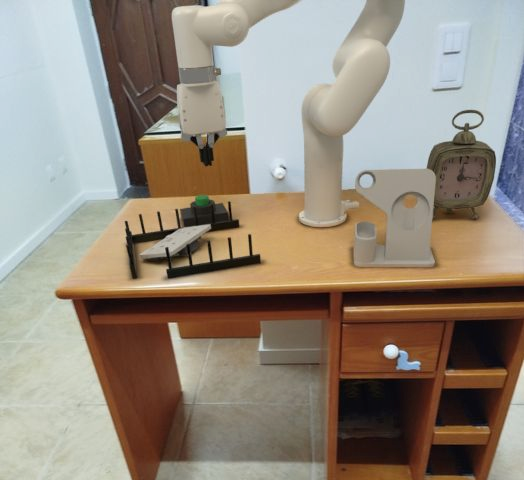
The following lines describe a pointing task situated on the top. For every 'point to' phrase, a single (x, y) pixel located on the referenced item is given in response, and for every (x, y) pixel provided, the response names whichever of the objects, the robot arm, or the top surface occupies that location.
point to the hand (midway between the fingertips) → (207, 164)
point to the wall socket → (176, 243)
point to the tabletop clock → (462, 170)
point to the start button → (202, 200)
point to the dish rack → (190, 268)
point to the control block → (203, 214)
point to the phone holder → (397, 219)
